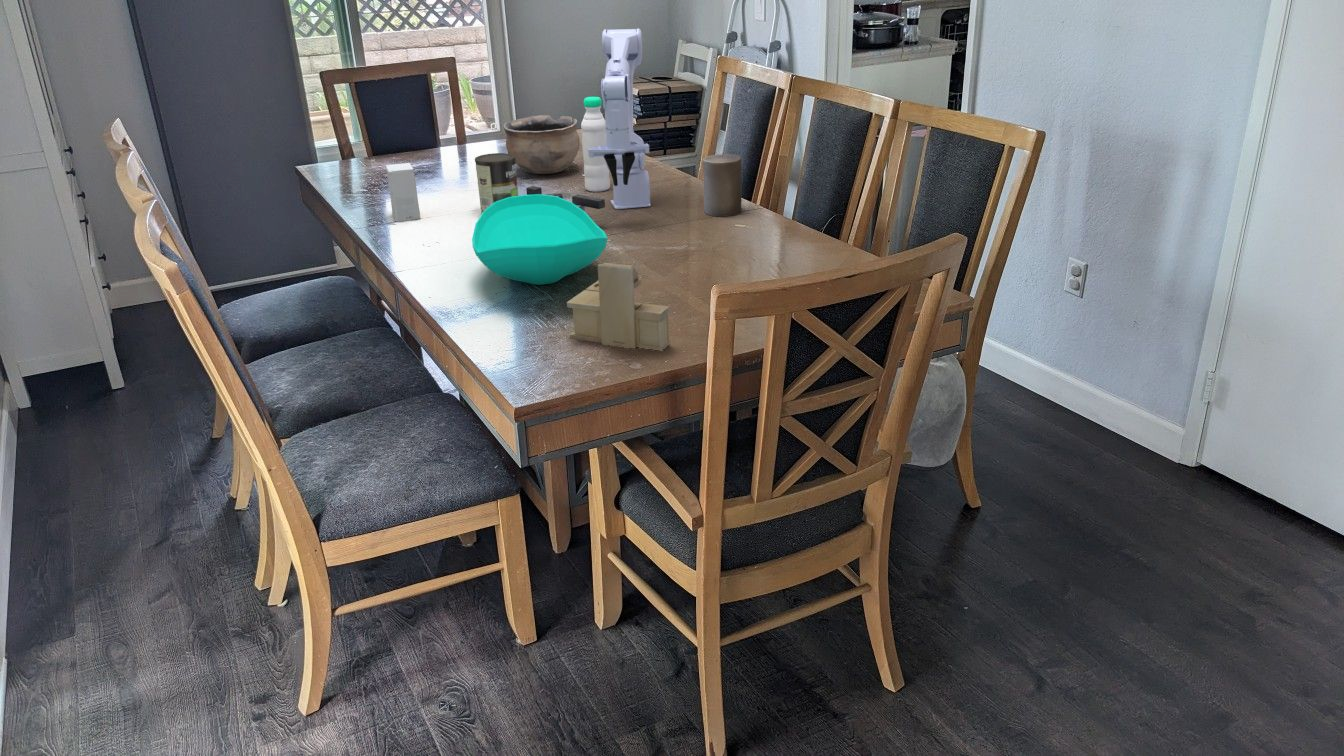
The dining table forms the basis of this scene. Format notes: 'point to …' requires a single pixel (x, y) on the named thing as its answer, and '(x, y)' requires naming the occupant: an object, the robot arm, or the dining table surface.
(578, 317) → the toy kitchen set
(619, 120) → the robot arm
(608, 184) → the water bottle
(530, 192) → the lid
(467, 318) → the dining table surface
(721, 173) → the pillar candle
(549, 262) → the table top decor
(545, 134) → the ceramic bowl
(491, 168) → the coffee can
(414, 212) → the small box
